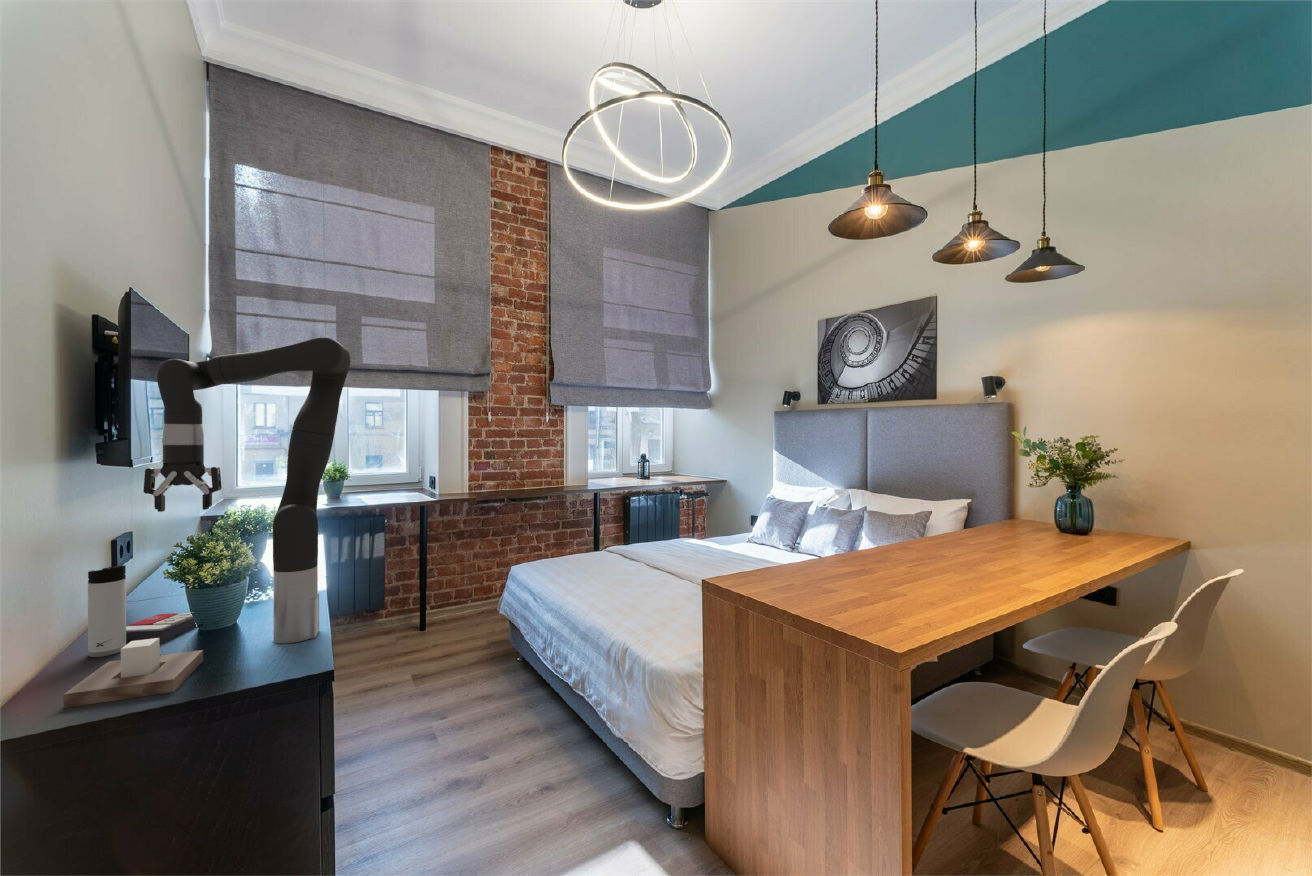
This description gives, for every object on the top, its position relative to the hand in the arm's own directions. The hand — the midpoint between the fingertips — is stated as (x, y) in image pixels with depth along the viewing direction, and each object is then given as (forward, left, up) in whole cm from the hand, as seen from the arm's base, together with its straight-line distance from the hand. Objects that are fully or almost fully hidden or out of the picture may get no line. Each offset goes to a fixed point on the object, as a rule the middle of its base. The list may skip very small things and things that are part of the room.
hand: (183, 510), depth 133 cm
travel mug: (+14, 0, -32) cm, 35 cm away
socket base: (0, +23, -32) cm, 39 cm away
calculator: (+8, -10, -33) cm, 35 cm away
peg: (0, +23, -32) cm, 40 cm away
